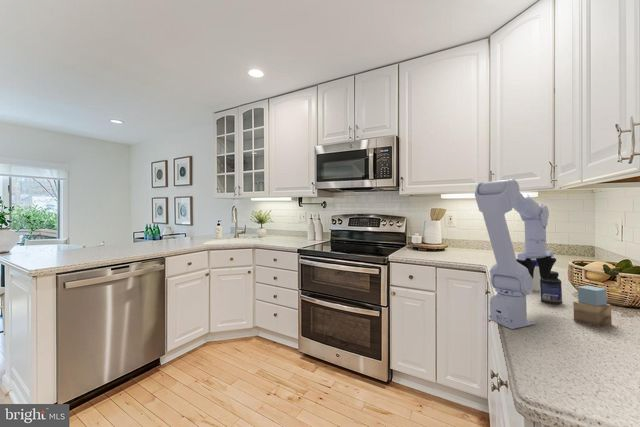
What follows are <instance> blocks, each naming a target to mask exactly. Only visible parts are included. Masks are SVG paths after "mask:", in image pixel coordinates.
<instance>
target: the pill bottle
mask: <svg viewBox="0 0 640 427" xmlns="http://www.w3.org/2000/svg"><path fill="white" fill-rule="evenodd" d="M562 290H563V289H562V281H561V279H560V278H559V272H558V271H554V270H551V272H550V275H549V278H548V279H544V278H541V279H540V291H539V293H540V301H542V302H543V303H547V304H552V305H562V303H563V292H562Z"/></svg>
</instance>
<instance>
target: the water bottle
mask: <svg viewBox="0 0 640 427" xmlns="http://www.w3.org/2000/svg"><path fill="white" fill-rule="evenodd" d="M522 248H523V249H525V242H524V243H523V245H522ZM535 257H536V256H535ZM530 260H532V261H535V262H537V260H536V258H535V259H530ZM540 279H541V277H540V272H539V266H538V263H536V265H535V268H534V275H533V290H532V291H535V292H536V291H539V292H540Z"/></svg>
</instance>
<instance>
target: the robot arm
mask: <svg viewBox="0 0 640 427" xmlns="http://www.w3.org/2000/svg"><path fill="white" fill-rule="evenodd" d="M520 190H521V189H520V185H519V182H518V181H517V180H516V179H515V178H510V179H504V180H503V179H502V180H495V181H481V182H480V181H479V183H478V184H477V185H476V188H475V191H474V197H475V200H476V204H477V207H478V211H479V212H480V213H482V216H483V220H484V223H485V227H486V230H487V234H488V238H489V241H490V244H491V247H492V251H493V255H494V260H495V262H496V263H495V264H493V265H492V266H491V267H490V269H489V274H490V275H489V276H490V277H489V278H490V279H489V280H490V284H491V287H492V288H493V289H494V291H495V293H496V294H495V295H493V296H491V298H490V299H489V300H490V301H489V310H490V312H489V314H490V315H489V317H488V318H487V319H488V321H491V322H493V323H495V324H498V325H500V326H503V327H506V328H508V329H510V330H514V329H518V328H519V329H520V328H524V327H528V326H532V325H535V322H534V321H531V320H528V315H527V314H528V312H527V311H528V310H527V309H528V308H527V296H529V295H530V294H531V293H532V292H533V291H534V290H533V275H534V268H535V265H536V263H538V266H539V272H540V277H541V278H544V279H548V278H549V275H550V272H551V271H552V268H553V266H554V265H555V263H556V262H557V258H556V257H555V255H554V254H555V253H554V251H552V250H547V249H548V248H547V228H546V227H548V221H549V216H550V211H549V208H548V206H547V205H544V204H543V203H541V204H539V203H538V202H537V201H536V200H535V199H533V198H532V197H531V196H530V195H529V194H523V193H521V191H520ZM513 209H514V210H515V211H516V212H517V213H518V214H519V215H520V219H521V220H522V222H524V243H525V248H524V249H525V251H524V252H522V253H521V252H520V253H517V256H516V253H515V250H514V245H513V242H512V238H511V235H510V232H509V227H508V224H507V223H508V222H507V220H506V214H508V213H509V212H511V211H512V210H513ZM535 256H536V257H535ZM516 257H517V258H516ZM535 258H536V260H537V262H535V261H532V260H530V259H535Z"/></svg>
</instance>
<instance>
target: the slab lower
mask: <svg viewBox="0 0 640 427" xmlns="http://www.w3.org/2000/svg"><path fill="white" fill-rule="evenodd" d="M573 320H574V321H576V322H580V323H581V324H582V323H583V324H586V325H588V326H592V327H596V328H602V327H605V326H610V325H612V314H611V315H609V316H605V317H600V318H596V317H592V316H589V315H585V314H582V313H578V312H574V311H573Z"/></svg>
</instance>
